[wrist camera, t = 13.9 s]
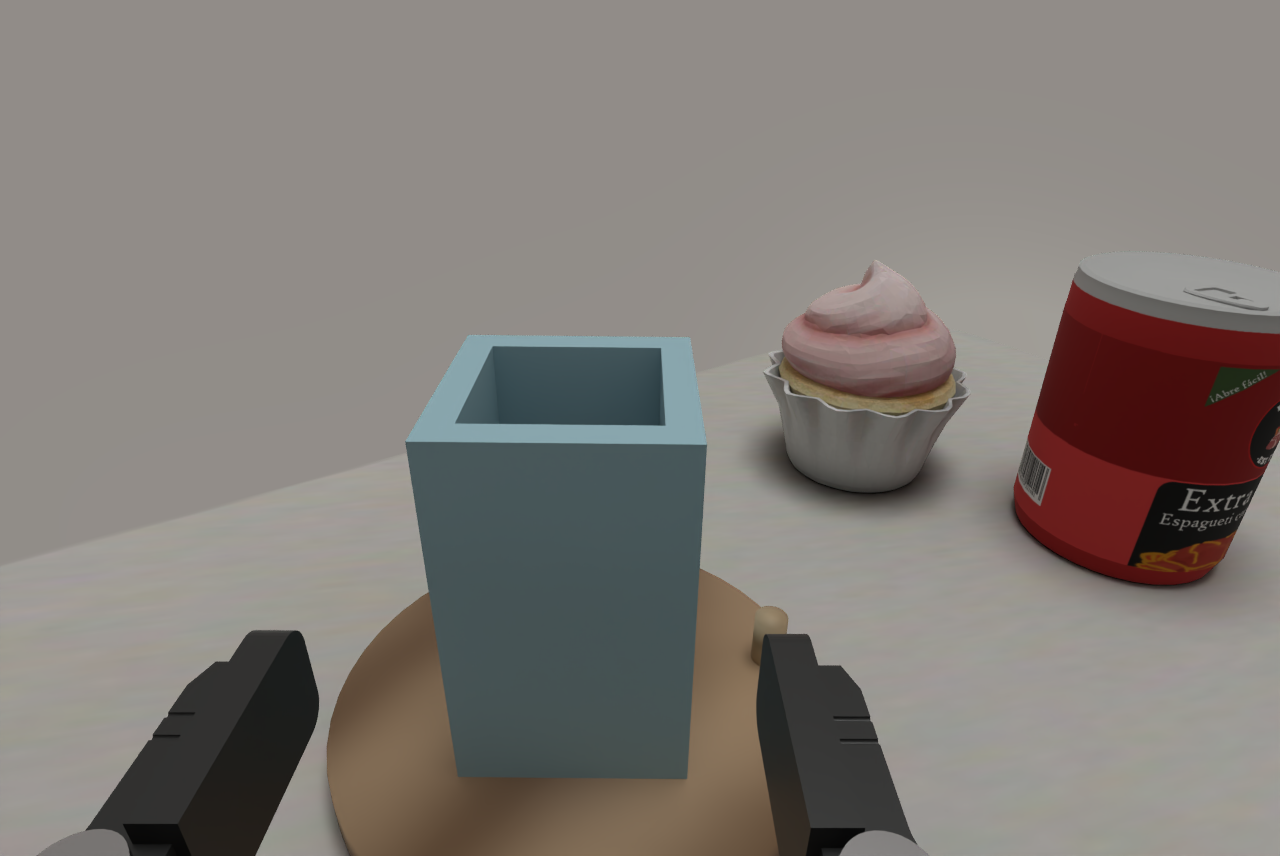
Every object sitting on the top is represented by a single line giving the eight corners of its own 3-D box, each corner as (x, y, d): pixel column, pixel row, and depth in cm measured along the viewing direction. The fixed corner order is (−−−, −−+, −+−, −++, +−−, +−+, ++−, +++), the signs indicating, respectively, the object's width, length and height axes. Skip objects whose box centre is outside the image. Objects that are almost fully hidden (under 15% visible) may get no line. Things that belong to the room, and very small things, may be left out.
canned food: (1163, 617, 27) (1289, 330, 22) (969, 512, 33) (1033, 266, 28) (1254, 548, 31) (1380, 289, 25) (1066, 465, 36) (1138, 241, 31)
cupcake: (790, 404, 42) (810, 227, 38) (963, 445, 38) (1010, 252, 34) (723, 478, 35) (738, 270, 30) (929, 538, 31) (982, 308, 26)
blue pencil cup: (457, 776, 19) (405, 441, 15) (497, 618, 25) (468, 335, 20) (687, 778, 19) (706, 444, 15) (677, 619, 25) (689, 337, 20)
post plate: (214, 846, 19) (120, 618, 15) (494, 540, 31) (477, 370, 27) (756, 1086, 15) (797, 847, 11) (840, 624, 26) (874, 436, 23)
